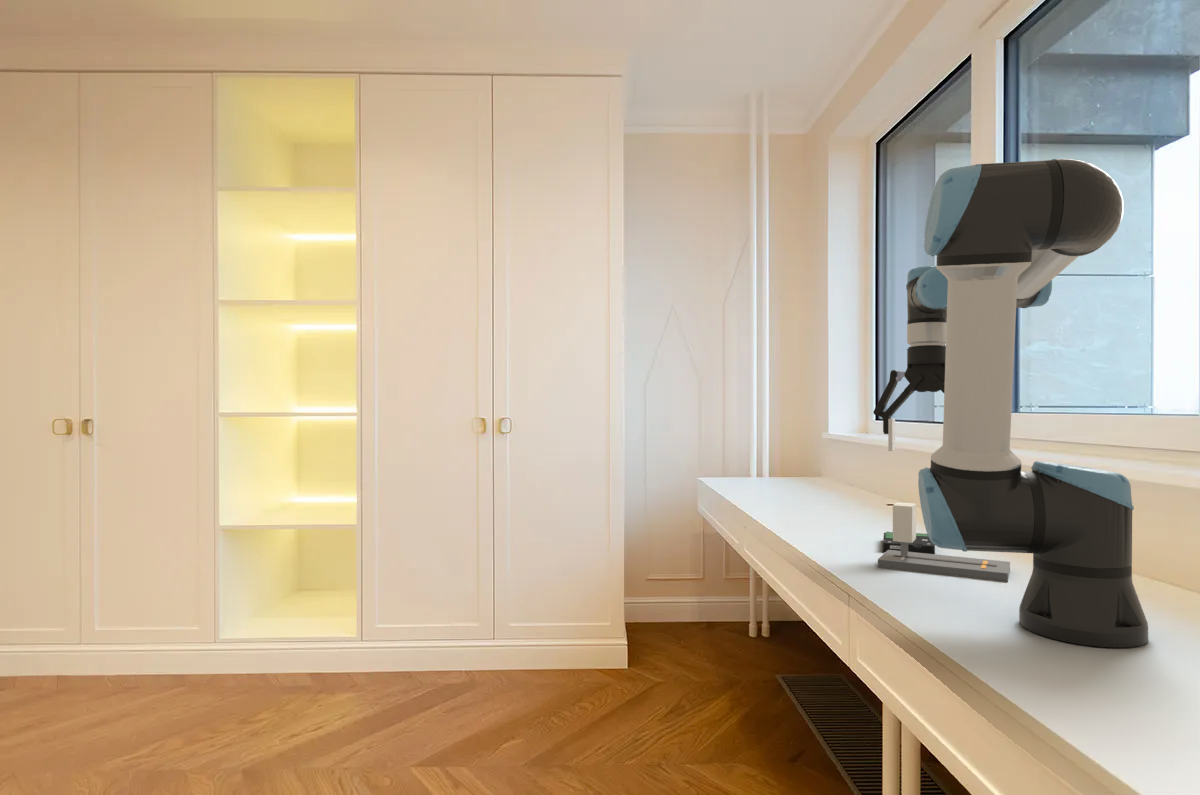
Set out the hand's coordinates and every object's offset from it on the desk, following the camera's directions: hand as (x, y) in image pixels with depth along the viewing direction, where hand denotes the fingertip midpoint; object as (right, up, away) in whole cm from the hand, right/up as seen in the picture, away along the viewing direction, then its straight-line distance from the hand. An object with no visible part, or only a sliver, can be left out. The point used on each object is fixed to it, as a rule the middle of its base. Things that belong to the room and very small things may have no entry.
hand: (927, 452), depth 147 cm
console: (+1, -22, -5) cm, 23 cm away
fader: (-5, -20, -2) cm, 21 cm away
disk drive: (+2, -23, +15) cm, 27 cm away
